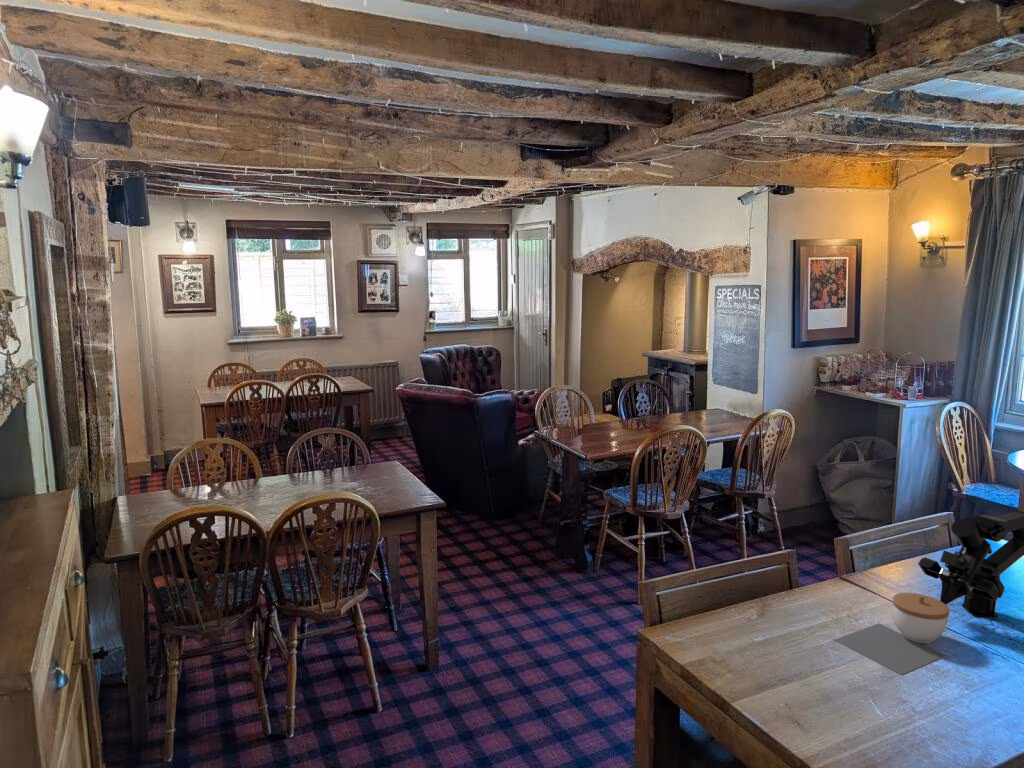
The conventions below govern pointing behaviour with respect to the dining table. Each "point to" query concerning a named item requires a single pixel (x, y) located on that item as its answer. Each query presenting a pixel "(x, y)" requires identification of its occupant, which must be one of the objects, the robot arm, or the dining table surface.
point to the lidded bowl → (919, 616)
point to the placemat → (890, 648)
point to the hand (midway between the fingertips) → (941, 604)
